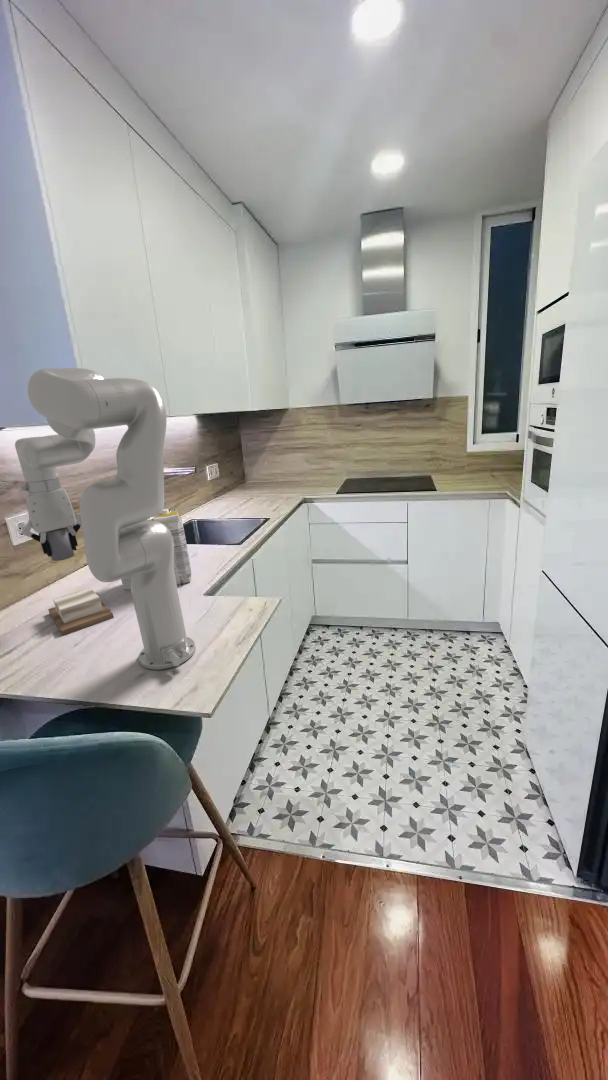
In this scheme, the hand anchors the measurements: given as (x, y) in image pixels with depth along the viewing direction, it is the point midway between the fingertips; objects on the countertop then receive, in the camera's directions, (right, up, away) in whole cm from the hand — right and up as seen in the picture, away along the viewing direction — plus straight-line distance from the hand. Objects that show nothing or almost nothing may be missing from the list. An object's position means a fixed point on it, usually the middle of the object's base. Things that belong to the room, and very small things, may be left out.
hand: (61, 551), depth 119 cm
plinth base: (+2, -18, +7) cm, 20 cm away
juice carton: (+24, -11, +25) cm, 36 cm away
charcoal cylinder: (0, -1, +1) cm, 2 cm away
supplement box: (+12, -12, +25) cm, 30 cm away
